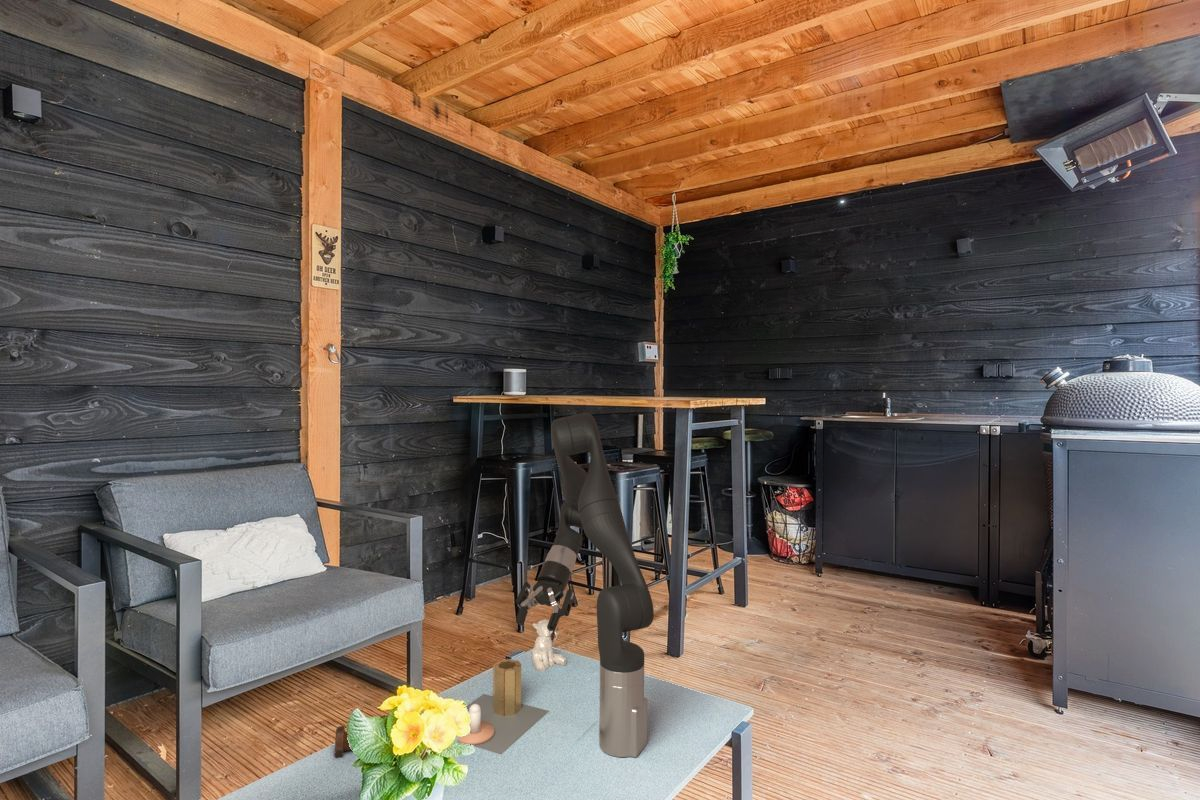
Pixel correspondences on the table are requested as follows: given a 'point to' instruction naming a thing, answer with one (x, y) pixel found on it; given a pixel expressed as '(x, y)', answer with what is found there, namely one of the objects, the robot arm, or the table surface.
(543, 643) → the white creature statuette
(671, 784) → the table surface
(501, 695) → the sleeve
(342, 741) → the bolt
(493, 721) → the rod board
